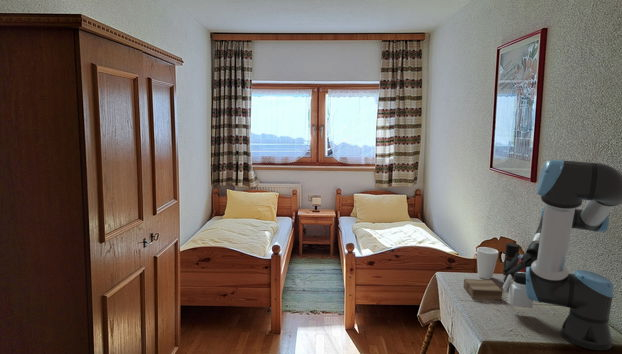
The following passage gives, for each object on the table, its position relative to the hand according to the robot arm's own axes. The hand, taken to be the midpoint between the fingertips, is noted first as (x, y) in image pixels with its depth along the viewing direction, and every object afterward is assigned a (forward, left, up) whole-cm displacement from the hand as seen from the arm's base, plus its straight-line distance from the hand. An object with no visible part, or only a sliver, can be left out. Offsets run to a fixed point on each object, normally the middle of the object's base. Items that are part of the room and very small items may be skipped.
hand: (517, 294), depth 170 cm
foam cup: (+37, -19, -9) cm, 42 cm away
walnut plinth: (+21, -3, -9) cm, 23 cm away
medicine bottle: (+1, -3, -5) cm, 6 cm away
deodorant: (+36, -33, -9) cm, 49 cm away
